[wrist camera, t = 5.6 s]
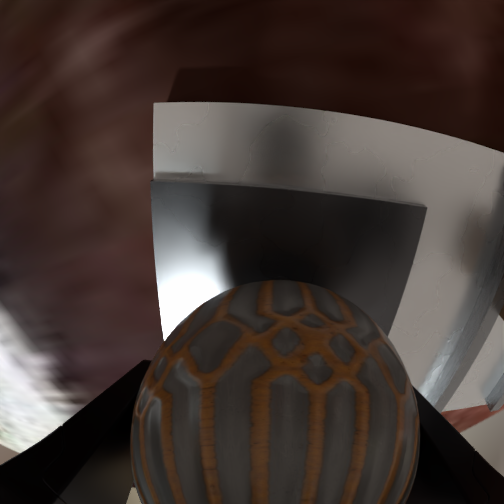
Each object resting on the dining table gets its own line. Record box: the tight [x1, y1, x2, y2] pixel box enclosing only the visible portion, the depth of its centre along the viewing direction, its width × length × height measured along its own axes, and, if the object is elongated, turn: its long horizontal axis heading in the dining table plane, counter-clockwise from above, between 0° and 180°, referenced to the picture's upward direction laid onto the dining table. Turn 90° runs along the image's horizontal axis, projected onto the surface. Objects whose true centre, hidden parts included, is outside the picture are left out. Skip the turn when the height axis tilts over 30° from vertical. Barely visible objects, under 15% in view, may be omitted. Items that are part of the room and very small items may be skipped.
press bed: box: [151, 102, 504, 413], centre depth 12 cm, size 14×19×2 cm
